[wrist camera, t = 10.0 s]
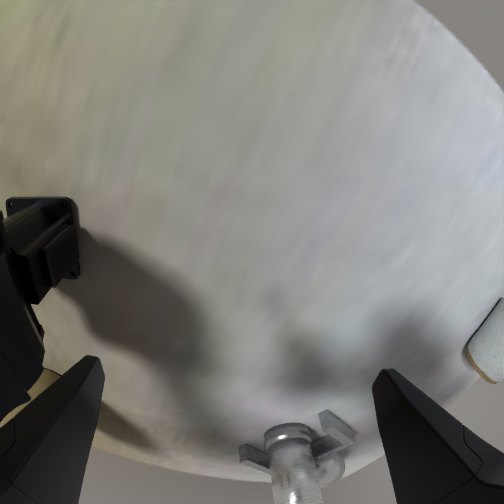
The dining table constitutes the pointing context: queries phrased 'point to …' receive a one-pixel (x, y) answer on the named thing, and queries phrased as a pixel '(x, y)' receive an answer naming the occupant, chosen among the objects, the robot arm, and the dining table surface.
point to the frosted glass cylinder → (292, 464)
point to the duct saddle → (313, 451)
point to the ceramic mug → (489, 347)
